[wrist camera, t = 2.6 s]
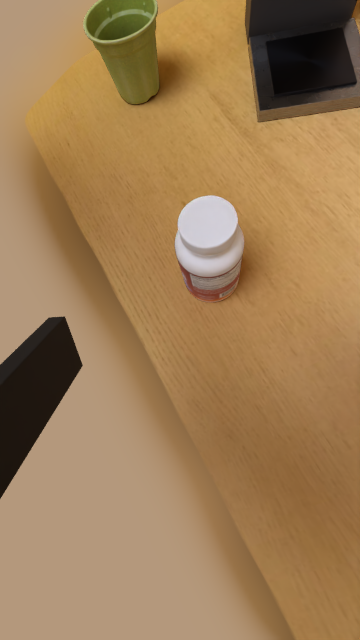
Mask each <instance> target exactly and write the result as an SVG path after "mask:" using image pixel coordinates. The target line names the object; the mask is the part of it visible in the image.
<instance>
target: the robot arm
mask: <svg viewBox="0 0 360 640" xmlns="http://www.w3.org/2000/svg"><path fill="white" fill-rule="evenodd" d="M81 367H82V362H81V360H80V357H79V354H78V351H77V349H76V346H75V343H74V340H73V338H72V335H71V332H70V329H69V327H68V324H67V321H66V318H65V317H52V318H48V319H47V320H46V321H45V322H44V323H43V324H42V325H41V326H40V327H39V328H38V329H37V330H36V331H35V332H34V333H33V334H32V335H31V336H29V337H28V338H27V339H26V340H25V341H24V342H23V343H22V344H21V345H20V346H19V347H18V348H17V349H16V350H15V351H14V352H13V353H12V354H11V355H10V356H9V357H8V358H7V359H6V360H5V361H4V362H3V363H2V364H1V365H0V498H1V497H2V495H3V493H4V492H5V490H6V489H7V487H8V485H9V484H10V482H11V481H12V479H13V477H14V476H15V474H16V473H17V471H18V469H19V468H20V466H21V464H22V463H23V461H24V460H25V458H26V456H27V455H28V453H29V451H30V450H31V448H32V447H33V445H34V443H35V442H36V440H37V438H38V437H39V435H40V434H41V432H42V430H43V429H44V427H45V426H46V424H47V422H48V421H49V419H50V418H51V416H52V414H53V413H54V411H55V409H56V408H57V406H58V405H59V403H60V401H61V400H62V398H63V396H64V395H65V393H66V392H67V390H68V388H69V387H70V385H71V383H72V382H73V380H74V379H75V377H76V375H77V374H78V372H79V371H80V369H81Z"/></svg>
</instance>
